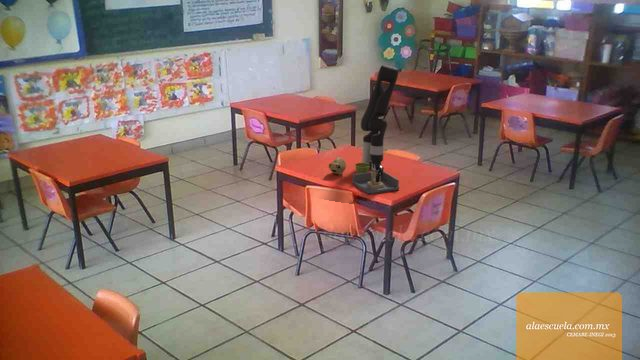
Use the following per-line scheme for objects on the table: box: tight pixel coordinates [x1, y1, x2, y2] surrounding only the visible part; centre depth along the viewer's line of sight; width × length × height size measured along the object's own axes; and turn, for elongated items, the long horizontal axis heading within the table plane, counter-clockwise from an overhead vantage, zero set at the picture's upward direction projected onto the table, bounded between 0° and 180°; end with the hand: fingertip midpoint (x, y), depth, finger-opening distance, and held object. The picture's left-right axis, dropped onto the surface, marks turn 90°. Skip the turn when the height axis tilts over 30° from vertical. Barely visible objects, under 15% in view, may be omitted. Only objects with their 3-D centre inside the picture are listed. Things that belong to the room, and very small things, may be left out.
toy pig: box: [328, 156, 347, 176], centre depth 371 cm, size 10×12×11 cm
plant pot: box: [354, 162, 370, 174], centre depth 364 cm, size 9×9×9 cm
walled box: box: [352, 170, 400, 196], centre depth 349 cm, size 20×20×6 cm
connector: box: [371, 169, 381, 185], centre depth 349 cm, size 4×4×9 cm
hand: (375, 180), depth 349 cm, fingers closed on connector, 4 cm apart
